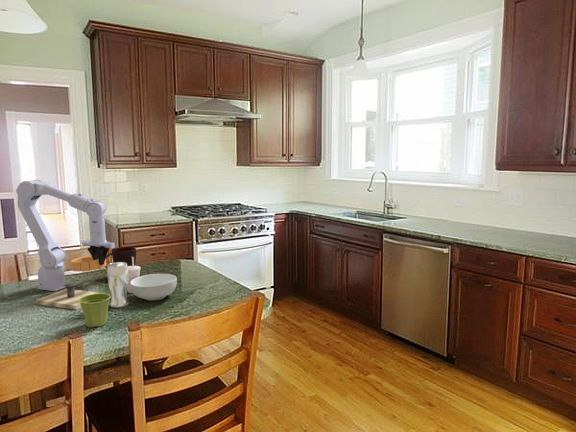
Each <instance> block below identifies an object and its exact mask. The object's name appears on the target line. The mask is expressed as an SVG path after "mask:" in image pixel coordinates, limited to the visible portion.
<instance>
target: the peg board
mask: <svg viewBox="0 0 576 432" xmlns="http://www.w3.org/2000/svg"><path fill="white" fill-rule="evenodd" d="M75 286H76V282H68V283H65V288H63V289H61V290H60V291H59V290H58V291H55V292H54V293H51V294H49V295H46V296H43V297H41V298H38V299H36V300H35V303H36V305H40V306H41V305H42V306H48V307H56V308H62V309H67V310H68V309H69V310H79V309H80V308H81V309H82V307H81V304H80V303H79V301H78V300H79V299H80V298H81V297H84V296H87V295H91V294H100V293H101V292H98V291H88V290H83V289H82V290H81V289H75ZM102 293H103V294H105V293H104V292H102Z"/></svg>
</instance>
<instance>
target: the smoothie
mask: <svg viewBox="0 0 576 432" xmlns="http://www.w3.org/2000/svg"><path fill="white" fill-rule="evenodd" d="M141 270H142V269H141V266H138V265H135V266H134V257H132V266H128V287H127V293H129V294H133V292H132V290H131V286H130V282H131V281H132V280H133V279H135V278H137V277H140V273H141Z"/></svg>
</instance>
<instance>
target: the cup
mask: <svg viewBox="0 0 576 432" xmlns="http://www.w3.org/2000/svg"><path fill="white" fill-rule="evenodd" d="M110 256H111V257H112V263H115V262H125V263H127V267H128V266H132V257H134V266H136V262H137V248H136V247H133V246H121V247H115V248H112V249H111V252H110V253H107V255H106V260H107V259H108V258H109V257H110ZM104 268H106V270H107V269H108V266H107V265H106V266H105V267H104Z"/></svg>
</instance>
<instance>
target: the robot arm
mask: <svg viewBox="0 0 576 432" xmlns="http://www.w3.org/2000/svg"><path fill="white" fill-rule="evenodd" d="M15 192H16V195H17V207H18V210H19V211H20V214H21V215H22V218H23V219H24V221H25V223H26V224H27V227H28V228H29V230H30V232H31V235H32V236H33V238H34V240H35V241H36V244H37V246H38V251H37V254H38V256H39V263H40V265H41V266H40V267H39V269H38V271H37V280H38V281H37V282H38V287H36V289H37V290H41V291H42V290H45V291H52V292H58V291H59V290H60V291H61V290H63V289H66V287H65V284H66V278H65V277H66V276H65V275H66V274H65V264H64V261H65V260H66V258H67V255H66V251H65V250H64V249H63V248H62V247H60V245H59V244H58V243H57V242H55V241H54V239H53V238H52V236H51V234H50V232H49V231H48V229H47V226H46V225H45V223H44V221H43V219H42V216H41V215H40V213H39V211H38V209H37V207H36V204H37V202H38V200H39V198H40V197H42V196H45V195H48V196H50V197H54V198H56V199H59V200H61V201H65V202H67V203H68V205H69V207H70V208H71V207H72V208H74V209H76V210H79V211H81V212H83V213H86V215H87V216H88V222H89V223H88V224H89V225H88V226H89V240H83V241H82V242H81V244H82V245H81V246H82V247H88V248H87V251H88V253H89V254H90V256H92V258H93V260H99V265H103V264H104V263H105V258H106V256H107V255H108V252H109V250H110V249H111V250H112V249H114V248H116V245H115V244H116V243H115V242H111V241H107V237H106V220H105V213H106V211H107V207H106V205H105V203H104V202H102V201H101V200H95V198H90V197H87V196H84V194H83V193H81V192H79V193H77V192H75V193H72V194H71V193H70V192H67V191H65V190H63V189H61V188H59V187H56V186H55V185H53V184H50V183H49V182H46V181H42V180H41V179H34V180H29V181H27V180H25V181H24V180H23V181H21V182H20V183H19V184H18V186H17V188H16V190H15Z"/></svg>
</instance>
